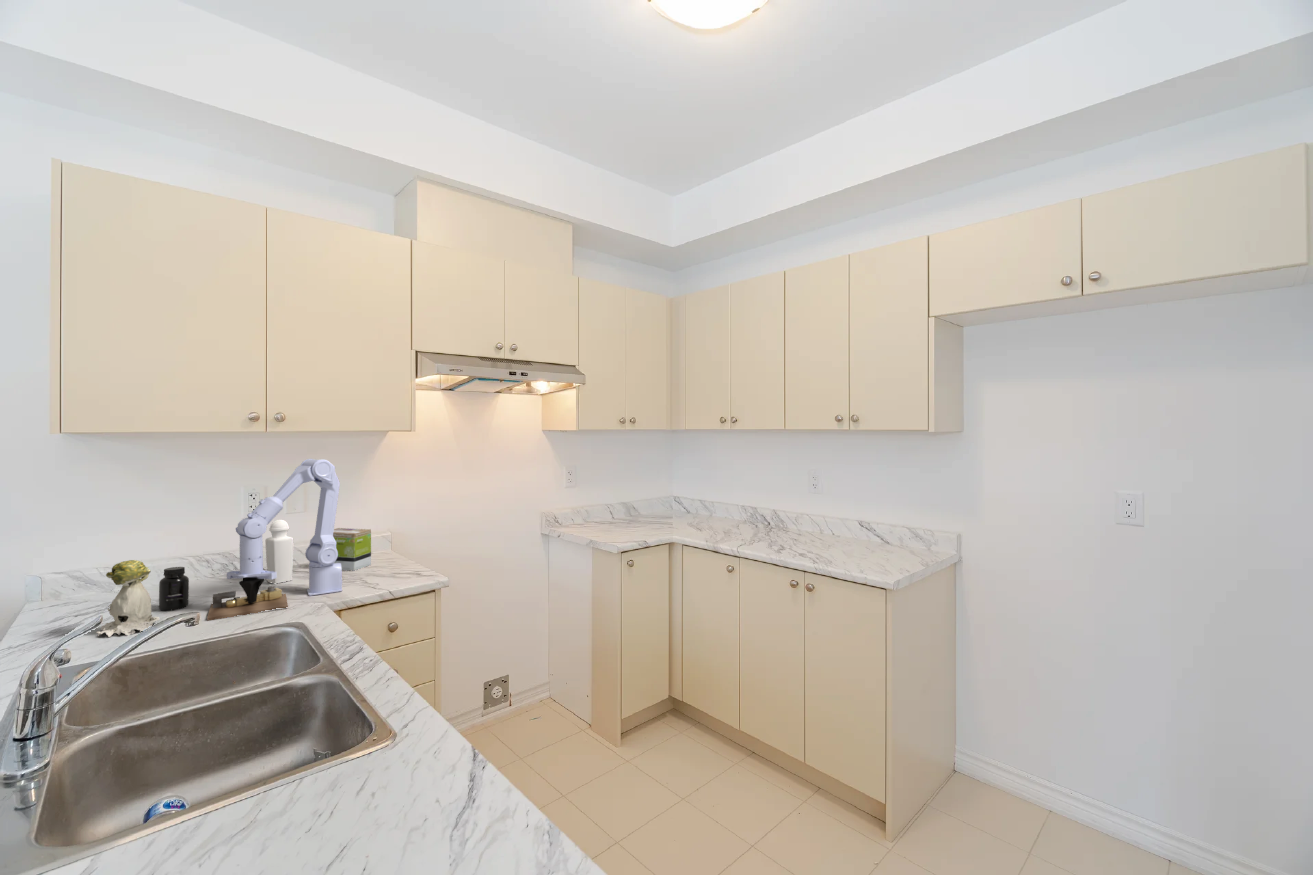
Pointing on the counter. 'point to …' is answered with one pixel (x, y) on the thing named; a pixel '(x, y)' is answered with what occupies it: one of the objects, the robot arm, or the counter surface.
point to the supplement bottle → (173, 589)
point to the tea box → (353, 548)
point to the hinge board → (220, 610)
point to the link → (262, 596)
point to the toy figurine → (129, 599)
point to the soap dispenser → (279, 552)
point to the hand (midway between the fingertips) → (252, 602)
